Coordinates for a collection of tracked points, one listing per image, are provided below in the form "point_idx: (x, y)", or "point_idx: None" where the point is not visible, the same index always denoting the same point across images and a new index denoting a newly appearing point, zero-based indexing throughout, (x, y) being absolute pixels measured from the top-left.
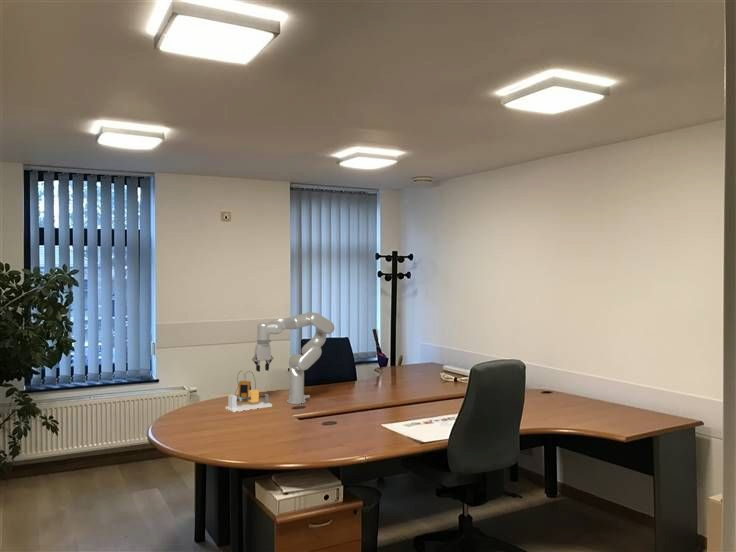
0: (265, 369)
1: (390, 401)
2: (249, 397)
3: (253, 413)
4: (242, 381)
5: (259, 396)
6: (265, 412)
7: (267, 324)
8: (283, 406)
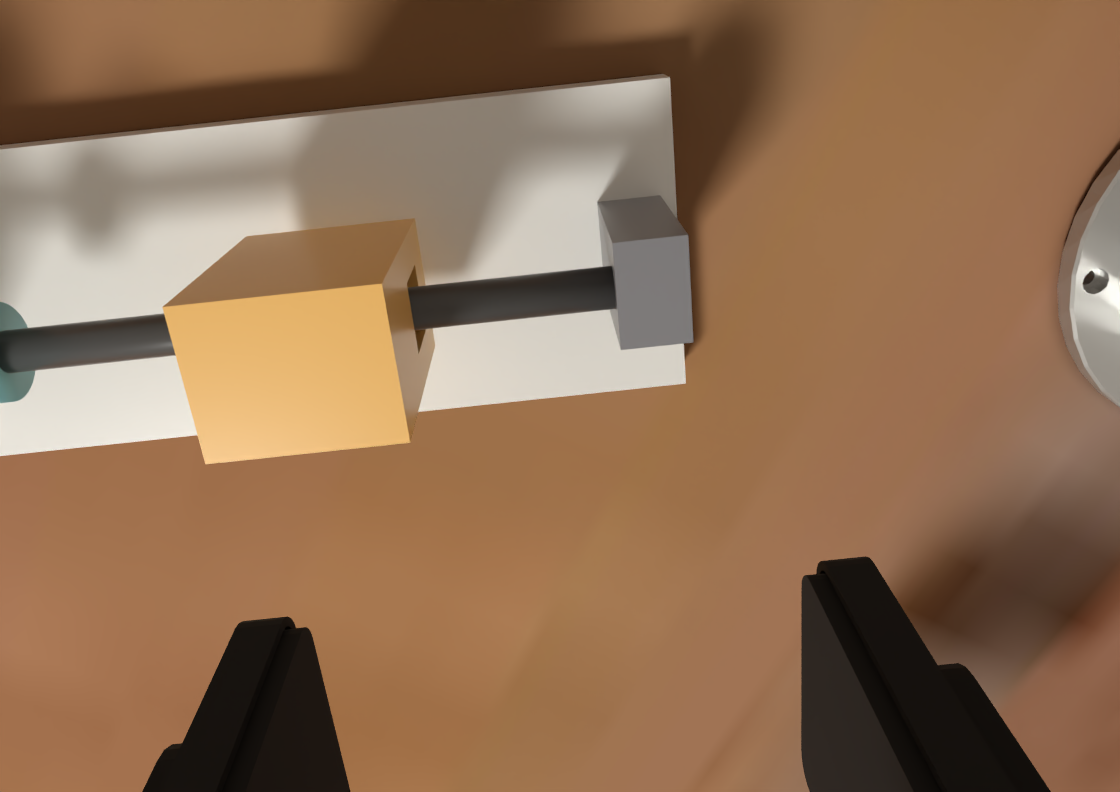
0: (812, 606)
1: None
2: None
3: (230, 637)
4: None
5: (468, 324)
6: (416, 656)
7: None
8: (847, 445)
